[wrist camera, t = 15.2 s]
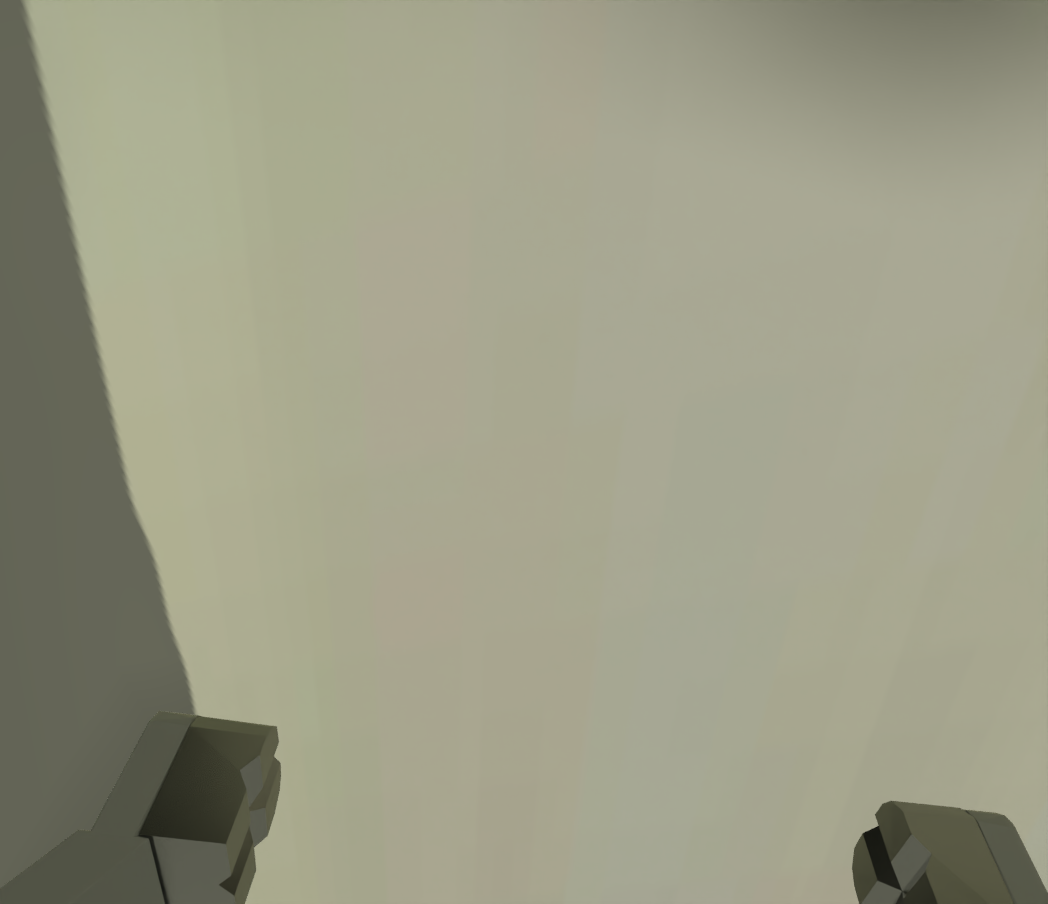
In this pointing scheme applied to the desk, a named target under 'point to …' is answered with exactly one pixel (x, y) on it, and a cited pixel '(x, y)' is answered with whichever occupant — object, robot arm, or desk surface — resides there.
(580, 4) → the desk surface
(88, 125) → the desk surface
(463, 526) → the desk surface
